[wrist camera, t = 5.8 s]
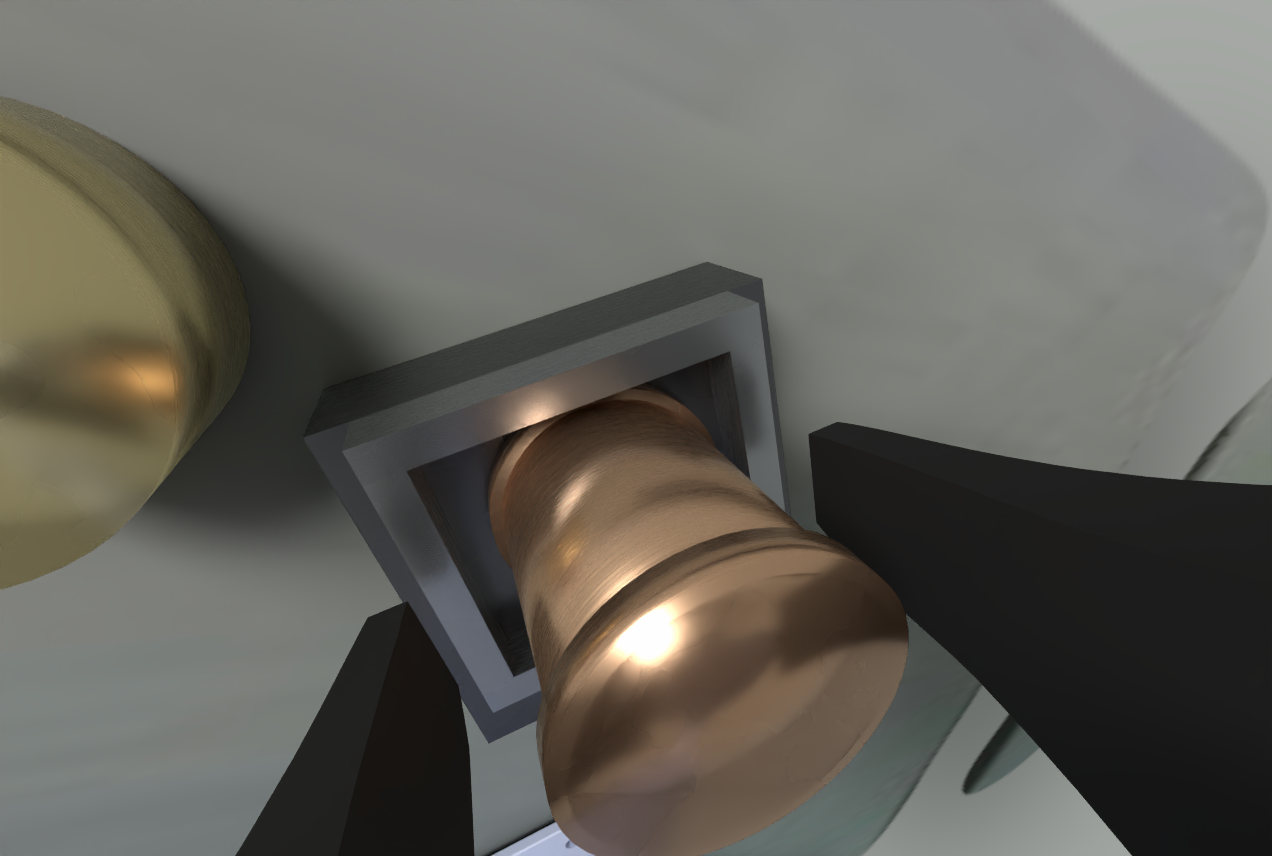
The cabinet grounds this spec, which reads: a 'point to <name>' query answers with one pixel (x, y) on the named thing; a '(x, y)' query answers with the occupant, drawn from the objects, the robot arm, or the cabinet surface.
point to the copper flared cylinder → (682, 631)
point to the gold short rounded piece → (100, 336)
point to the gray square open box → (513, 399)
